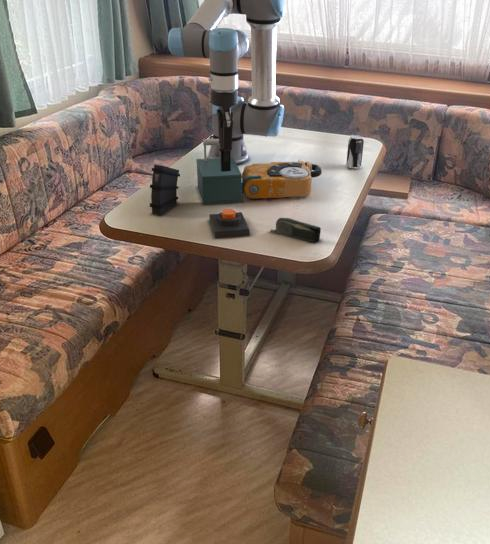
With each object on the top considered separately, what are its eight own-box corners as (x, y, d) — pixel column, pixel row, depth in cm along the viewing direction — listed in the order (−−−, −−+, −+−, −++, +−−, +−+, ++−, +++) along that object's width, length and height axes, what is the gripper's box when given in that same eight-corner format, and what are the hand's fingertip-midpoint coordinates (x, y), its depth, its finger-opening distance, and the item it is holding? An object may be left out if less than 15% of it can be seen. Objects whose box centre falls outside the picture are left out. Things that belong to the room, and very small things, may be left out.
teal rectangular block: (197, 186, 199) (196, 162, 194) (233, 184, 202) (233, 160, 197) (203, 204, 186) (202, 179, 181) (241, 202, 189) (241, 177, 184)
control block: (209, 220, 176) (209, 208, 174) (241, 218, 178) (241, 206, 176) (215, 238, 166) (214, 225, 164) (249, 235, 168) (249, 223, 166)
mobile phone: (322, 225, 165) (274, 213, 170) (318, 229, 163) (270, 217, 167) (320, 240, 167) (273, 228, 172) (316, 245, 165) (269, 232, 170)
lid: (196, 161, 195) (195, 137, 191) (233, 159, 198) (232, 136, 194) (202, 179, 181) (201, 153, 177) (241, 176, 184) (241, 151, 180)
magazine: (144, 213, 175) (152, 164, 173) (165, 215, 187) (173, 169, 186) (155, 215, 174) (163, 165, 172) (175, 217, 186) (183, 171, 185)
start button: (221, 214, 171) (220, 209, 170) (234, 213, 172) (234, 208, 171) (223, 220, 168) (223, 214, 167) (236, 219, 169) (236, 214, 168)
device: (236, 155, 204) (319, 153, 208) (236, 177, 208) (317, 175, 213) (242, 178, 185) (333, 176, 189) (242, 202, 189) (331, 199, 193)
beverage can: (348, 163, 225) (351, 133, 219) (362, 165, 224) (365, 135, 218) (344, 168, 221) (347, 137, 215) (359, 170, 219) (362, 139, 213)
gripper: (207, 84, 163) (209, 163, 175) (214, 95, 152) (216, 179, 165) (233, 83, 165) (234, 162, 177) (242, 95, 154) (242, 177, 166)
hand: (225, 170), depth 171 cm, fingers closed
